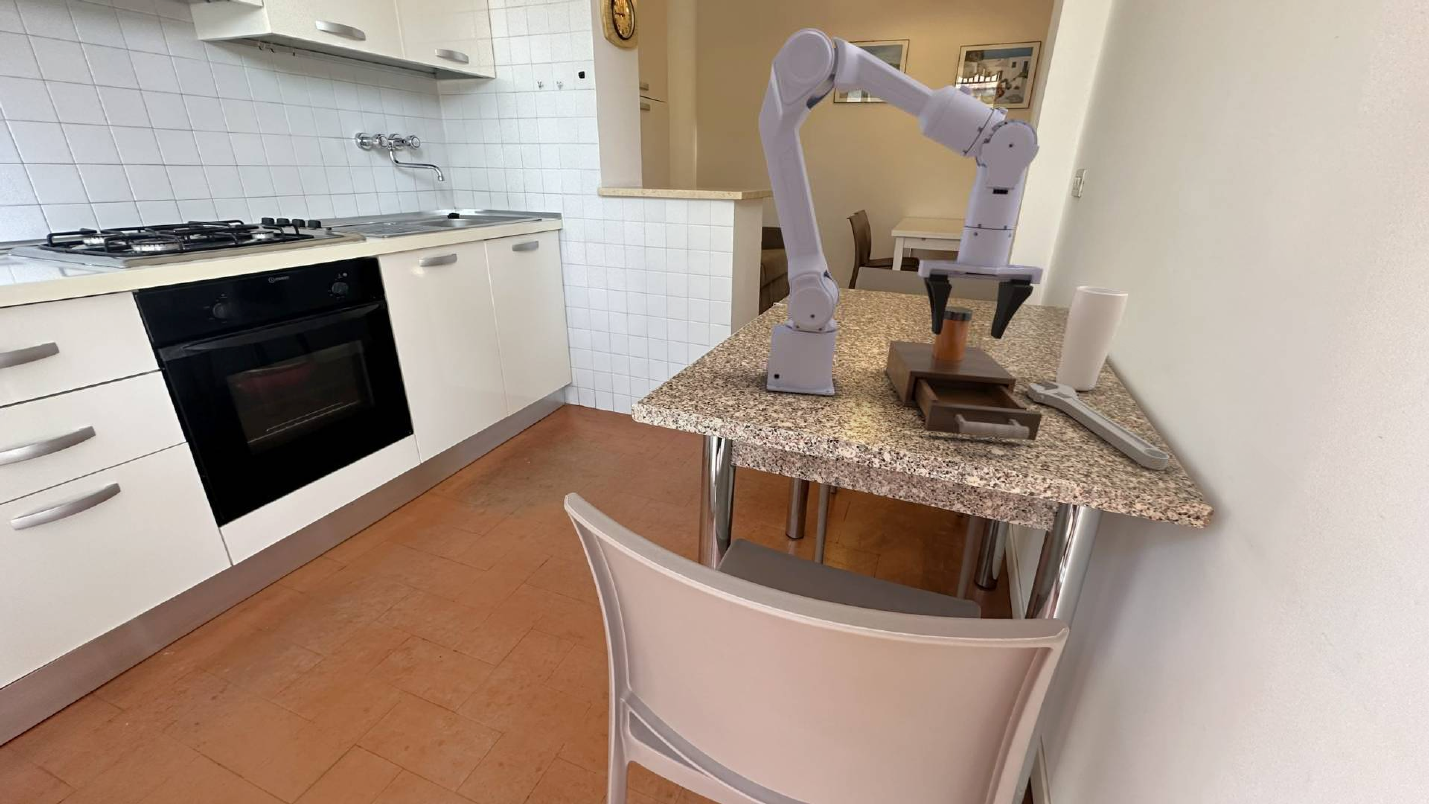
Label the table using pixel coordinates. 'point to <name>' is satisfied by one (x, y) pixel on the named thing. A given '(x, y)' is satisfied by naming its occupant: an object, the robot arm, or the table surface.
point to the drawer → (974, 409)
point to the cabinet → (940, 368)
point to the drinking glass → (1089, 335)
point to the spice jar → (953, 334)
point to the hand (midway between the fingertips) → (965, 335)
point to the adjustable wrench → (1098, 424)
